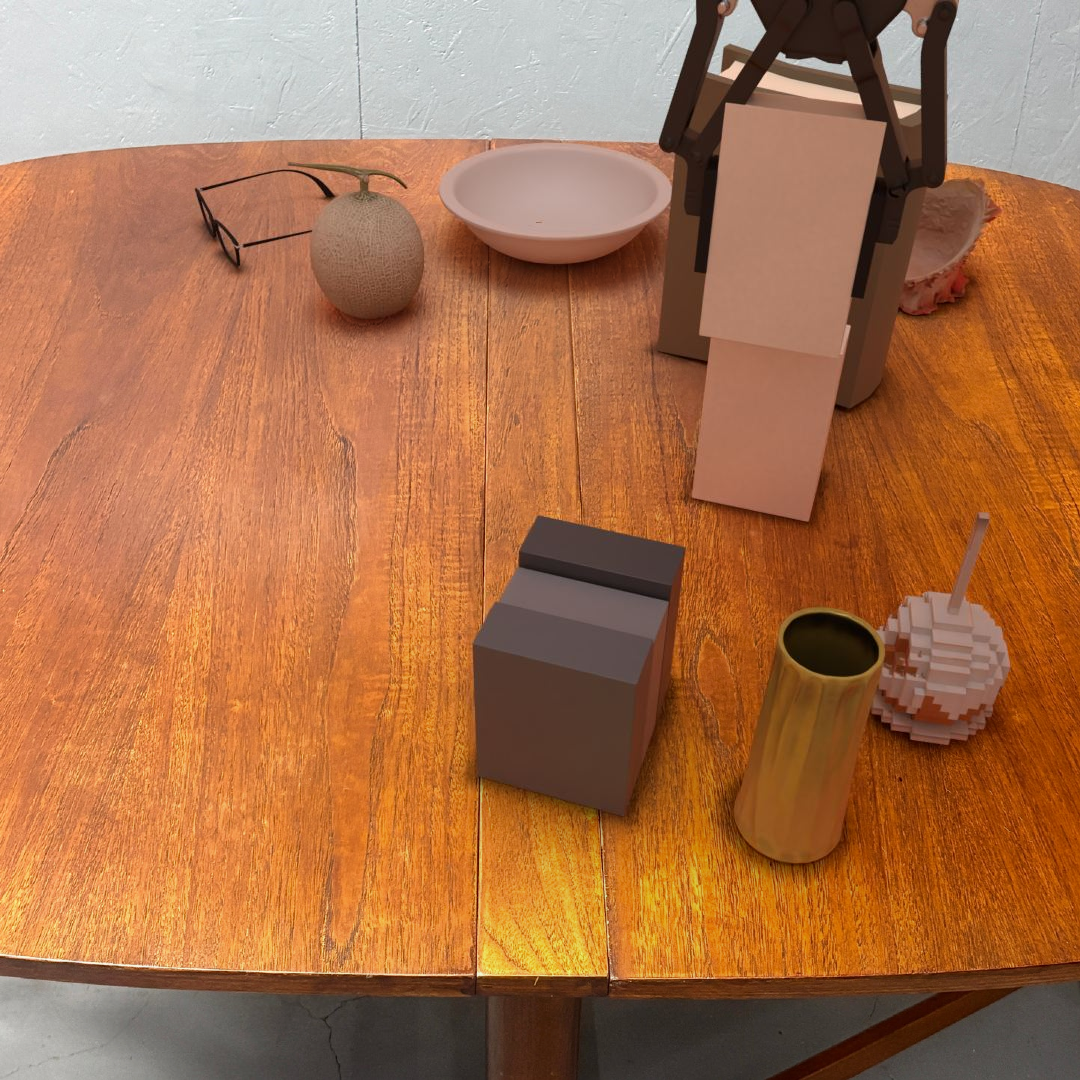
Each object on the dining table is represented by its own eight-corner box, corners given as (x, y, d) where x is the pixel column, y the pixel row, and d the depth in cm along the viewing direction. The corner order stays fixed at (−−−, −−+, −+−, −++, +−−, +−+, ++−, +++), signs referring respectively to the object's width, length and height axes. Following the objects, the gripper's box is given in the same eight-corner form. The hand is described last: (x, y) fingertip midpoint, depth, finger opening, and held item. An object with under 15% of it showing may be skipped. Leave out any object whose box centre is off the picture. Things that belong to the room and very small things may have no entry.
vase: (859, 856, 64) (916, 677, 55) (754, 874, 63) (794, 696, 54) (817, 770, 68) (863, 592, 59) (718, 786, 67) (750, 607, 58)
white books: (808, 522, 86) (843, 354, 77) (691, 498, 88) (711, 331, 79) (820, 475, 91) (854, 311, 82) (708, 453, 93) (729, 291, 84)
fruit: (455, 302, 112) (449, 151, 103) (374, 349, 105) (359, 192, 95) (376, 271, 117) (363, 124, 107) (294, 315, 110) (272, 162, 100)
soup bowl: (400, 230, 125) (396, 170, 120) (582, 183, 135) (584, 126, 131) (520, 322, 109) (520, 258, 105) (714, 261, 120) (721, 200, 115)
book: (890, 373, 103) (959, 89, 87) (856, 416, 97) (923, 121, 81) (699, 314, 111) (729, 43, 95) (657, 350, 105) (682, 70, 89)
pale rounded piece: (858, 649, 76) (907, 466, 66) (979, 666, 75) (1047, 482, 65) (861, 738, 70) (915, 551, 61) (993, 758, 69) (1069, 570, 60)
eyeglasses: (193, 218, 126) (186, 183, 124) (329, 191, 132) (325, 157, 129) (238, 280, 115) (231, 243, 112) (384, 248, 121) (381, 212, 118)
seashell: (875, 244, 127) (782, 276, 119) (892, 145, 121) (795, 171, 113) (1011, 292, 116) (917, 330, 108) (1037, 186, 110) (940, 218, 102)
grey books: (624, 817, 65) (637, 677, 58) (476, 776, 68) (471, 636, 60) (669, 684, 73) (686, 546, 66) (536, 651, 76) (537, 514, 68)
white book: (838, 359, 73) (887, 122, 63) (698, 335, 75) (725, 102, 65) (843, 340, 74) (891, 107, 65) (706, 317, 77) (733, 88, 67)
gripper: (1075, -135, 58) (963, 276, 72) (653, -164, 63) (628, 225, 77) (1079, -105, 52) (957, 333, 66) (616, -140, 57) (597, 274, 72)
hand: (780, 275), depth 72 cm, fingers closed on white book, 9 cm apart
